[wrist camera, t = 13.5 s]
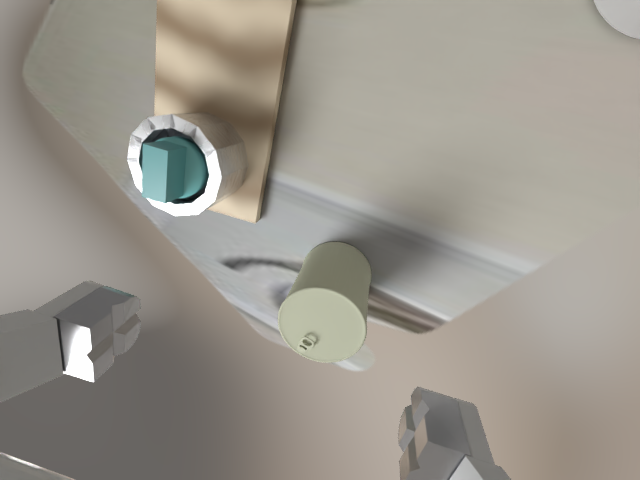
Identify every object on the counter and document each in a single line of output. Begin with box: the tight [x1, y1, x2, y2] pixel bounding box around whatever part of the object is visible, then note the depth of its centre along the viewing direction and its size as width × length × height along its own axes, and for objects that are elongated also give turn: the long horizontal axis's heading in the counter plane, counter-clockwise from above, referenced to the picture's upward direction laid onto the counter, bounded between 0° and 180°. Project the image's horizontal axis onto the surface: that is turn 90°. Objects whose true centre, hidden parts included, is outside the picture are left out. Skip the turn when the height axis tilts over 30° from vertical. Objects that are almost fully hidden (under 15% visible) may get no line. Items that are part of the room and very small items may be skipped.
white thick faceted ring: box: [127, 112, 249, 216], centre depth 36 cm, size 10×10×7 cm
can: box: [278, 242, 372, 363], centre depth 38 cm, size 9×9×12 cm
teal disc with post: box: [142, 136, 209, 204], centre depth 32 cm, size 6×6×4 cm
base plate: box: [154, 0, 297, 223], centre depth 37 cm, size 25×14×2 cm, turn 166°
